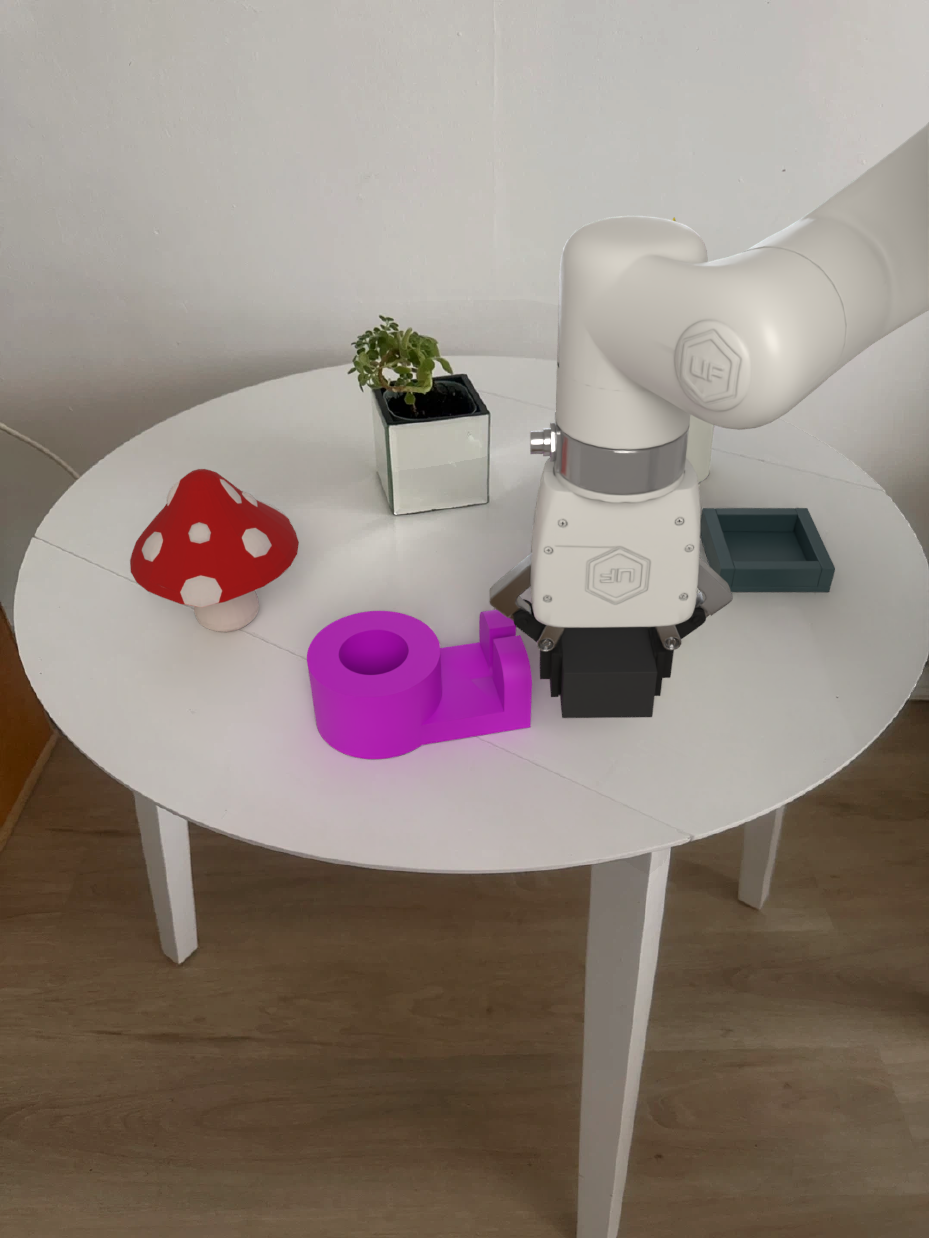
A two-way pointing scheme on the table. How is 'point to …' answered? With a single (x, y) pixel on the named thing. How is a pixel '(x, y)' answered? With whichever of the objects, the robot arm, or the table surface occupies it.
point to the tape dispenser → (415, 683)
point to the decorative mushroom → (213, 550)
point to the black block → (607, 673)
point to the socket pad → (766, 549)
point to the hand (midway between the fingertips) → (603, 681)
